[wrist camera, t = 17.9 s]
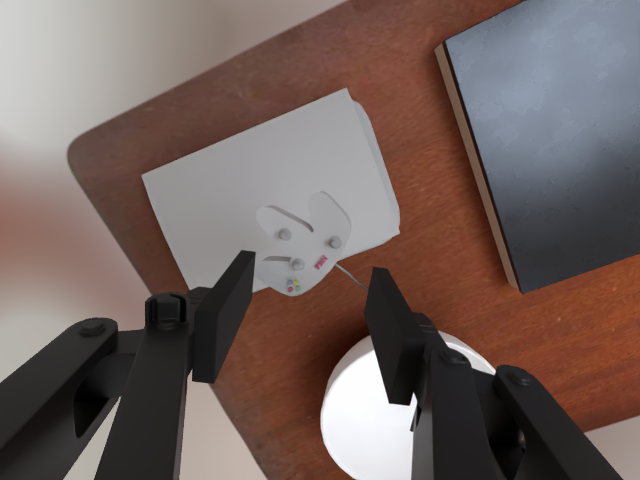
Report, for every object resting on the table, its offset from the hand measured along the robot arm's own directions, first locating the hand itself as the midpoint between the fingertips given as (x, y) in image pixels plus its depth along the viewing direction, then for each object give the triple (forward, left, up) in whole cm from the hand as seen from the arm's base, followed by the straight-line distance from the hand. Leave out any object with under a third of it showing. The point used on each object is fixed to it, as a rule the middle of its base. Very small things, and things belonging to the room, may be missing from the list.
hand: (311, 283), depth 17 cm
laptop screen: (-12, +23, -14) cm, 30 cm away
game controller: (0, +2, -2) cm, 3 cm away
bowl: (+17, +12, -17) cm, 27 cm away
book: (-1, -4, -17) cm, 17 cm away
